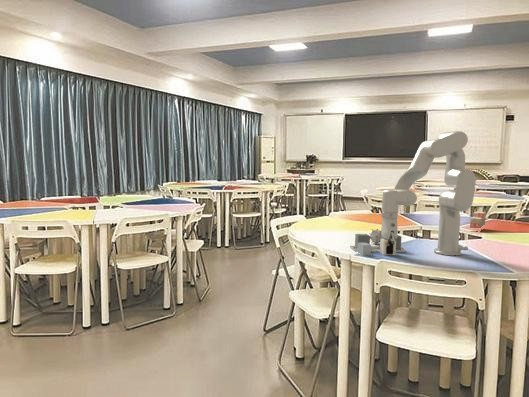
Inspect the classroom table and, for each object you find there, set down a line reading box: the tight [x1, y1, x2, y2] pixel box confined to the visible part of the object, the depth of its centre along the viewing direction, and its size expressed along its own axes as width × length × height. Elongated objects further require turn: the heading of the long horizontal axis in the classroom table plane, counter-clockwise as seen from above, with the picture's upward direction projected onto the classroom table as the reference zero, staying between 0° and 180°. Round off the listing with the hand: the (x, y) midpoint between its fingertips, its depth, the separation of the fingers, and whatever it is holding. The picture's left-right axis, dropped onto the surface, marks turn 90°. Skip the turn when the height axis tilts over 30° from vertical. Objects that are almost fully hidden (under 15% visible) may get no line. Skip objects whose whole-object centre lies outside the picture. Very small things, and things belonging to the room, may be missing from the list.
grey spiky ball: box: [368, 228, 383, 246], centre depth 234 cm, size 9×8×10 cm
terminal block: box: [356, 243, 372, 256], centre depth 206 cm, size 4×6×5 cm, turn 13°
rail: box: [349, 233, 407, 253], centre depth 217 cm, size 26×9×8 cm, turn 93°
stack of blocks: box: [469, 211, 487, 229], centre depth 297 cm, size 21×6×12 cm, turn 145°
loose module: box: [379, 239, 397, 256], centre depth 208 cm, size 6×5×7 cm
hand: (387, 252), depth 208 cm, fingers closed on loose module, 5 cm apart
